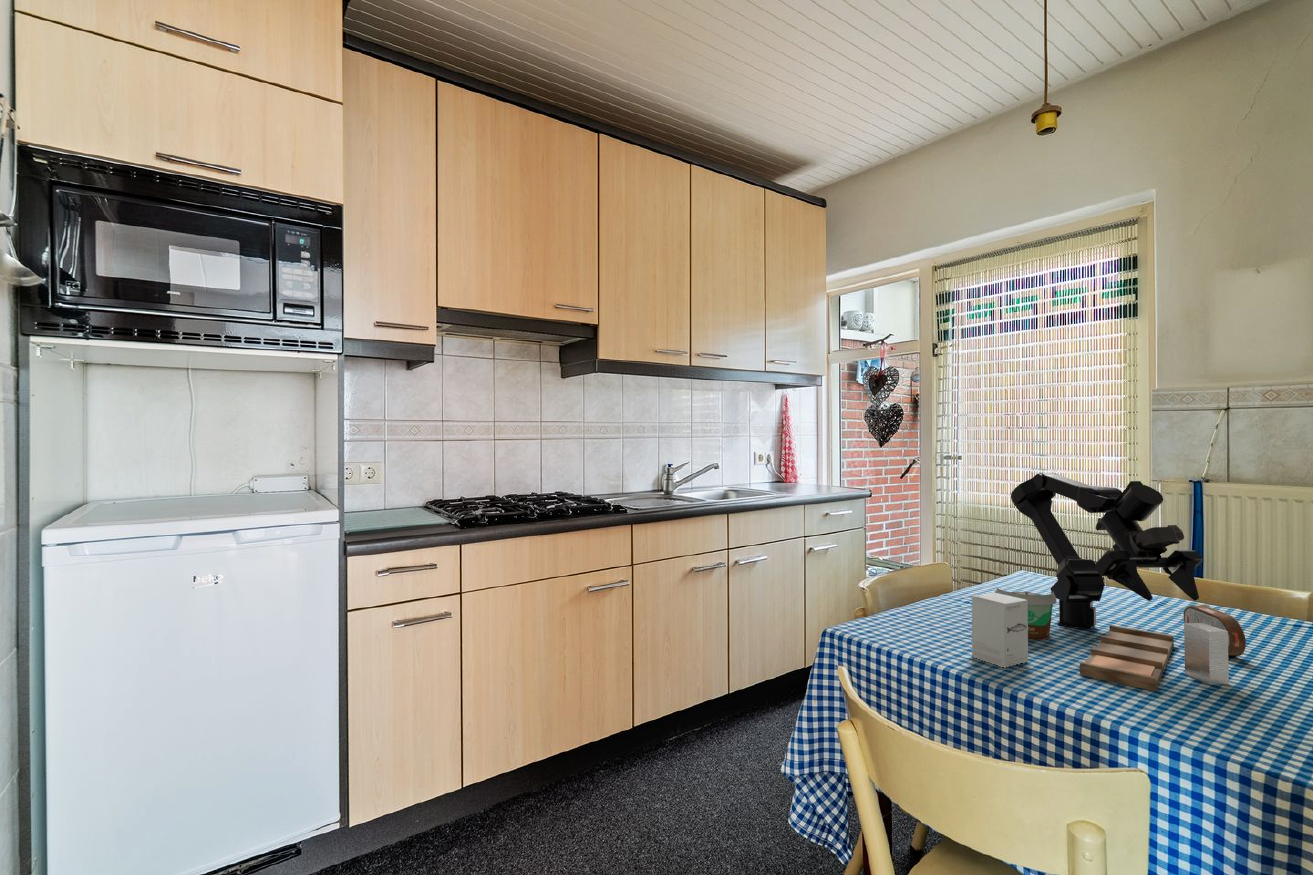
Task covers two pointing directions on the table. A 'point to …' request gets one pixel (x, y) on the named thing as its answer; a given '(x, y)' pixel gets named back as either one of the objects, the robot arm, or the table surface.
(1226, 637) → the brushed grey box
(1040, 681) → the table surface
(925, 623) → the table surface
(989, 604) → the supplement box
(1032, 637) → the food container
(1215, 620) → the tin
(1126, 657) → the rack
